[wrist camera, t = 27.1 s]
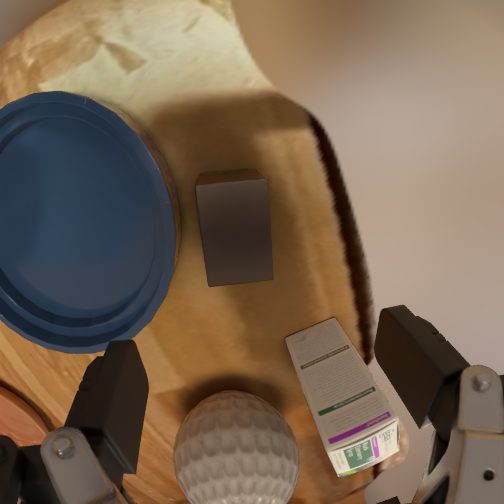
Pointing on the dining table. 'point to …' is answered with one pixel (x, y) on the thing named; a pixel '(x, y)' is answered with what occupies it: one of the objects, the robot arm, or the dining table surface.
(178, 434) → the vase
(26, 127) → the glazed bowl
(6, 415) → the saucer
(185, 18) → the dining table surface
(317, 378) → the syrup box
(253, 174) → the dark brown block
